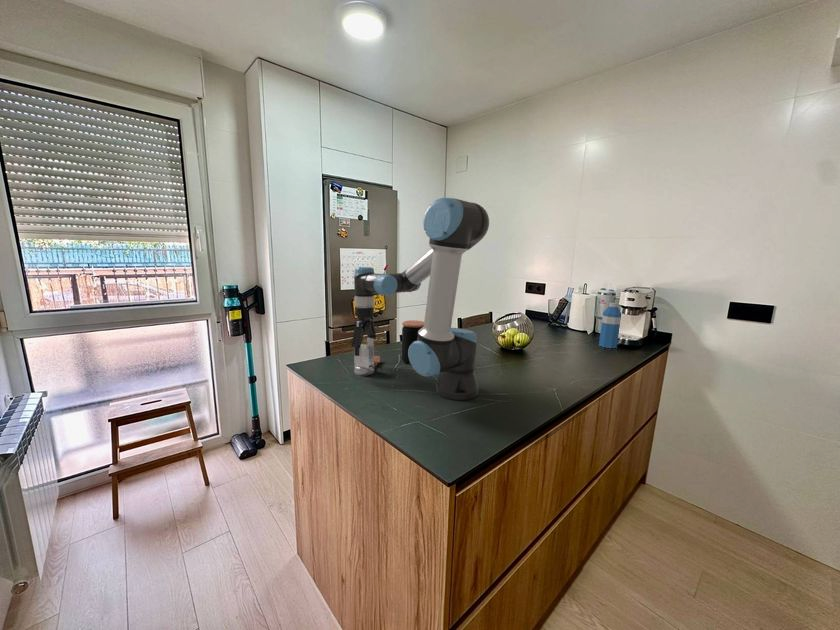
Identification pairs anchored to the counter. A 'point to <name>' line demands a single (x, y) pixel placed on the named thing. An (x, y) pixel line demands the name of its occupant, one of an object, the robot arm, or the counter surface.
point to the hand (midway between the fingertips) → (364, 357)
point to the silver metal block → (366, 356)
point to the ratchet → (367, 370)
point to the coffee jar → (409, 336)
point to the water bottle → (610, 326)
